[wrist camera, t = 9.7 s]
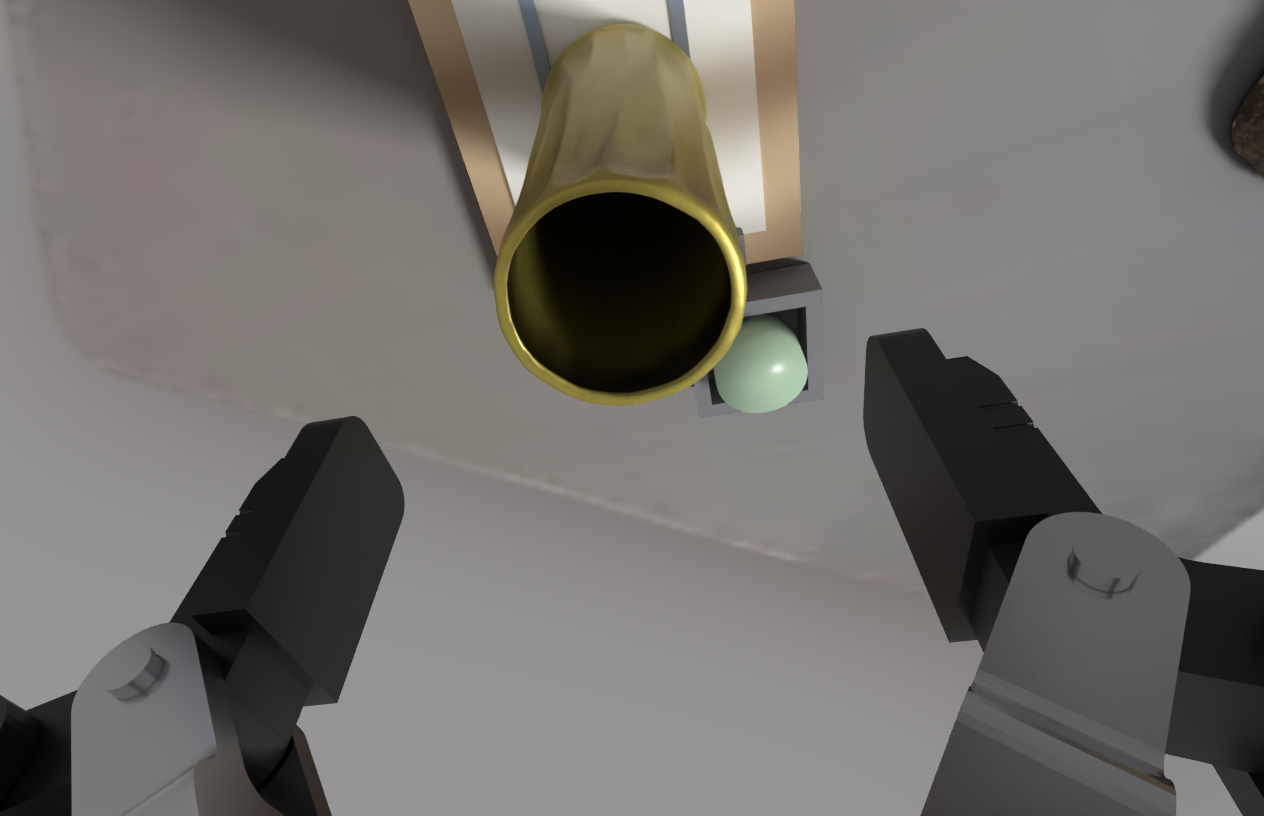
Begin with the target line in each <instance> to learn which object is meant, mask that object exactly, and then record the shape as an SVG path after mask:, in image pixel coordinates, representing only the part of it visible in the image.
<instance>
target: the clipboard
mask: <svg viewBox="0 0 1264 816" xmlns="http://www.w3.org/2000/svg"><path fill="white" fill-rule="evenodd" d="M408 2H409V5H410V7H411V10H412V13H413V16H414V19H415V22H416V25H417V28H418V30H419V33H420V36H421V39H422V42H423V45H424V48H425V51H426V53H427V56H428V59H429V62H430V65H431V68H432V71H433V74H434V76H435V79H436V82H437V85H438V88H439V91H440V94H441V97H442V99H443V102H444V105H445V108H446V111H447V114H448V117H449V120H450V122H451V125H452V128H453V131H454V134H455V137H456V140H457V143H458V146H459V148H460V151H461V154H462V157H463V160H464V163H465V166H466V169H467V171H468V174H469V177H470V180H471V183H472V186H473V189H474V192H475V194H476V197H477V200H478V203H479V206H480V209H481V212H482V215H483V217H484V220H485V223H486V226H487V229H488V232H489V235H490V238H491V240H492V243H493V246H494V249H495V252H496V255H497V258H498V253H499V249H500V246H501V242H502V238H503V235H504V232H505V230H506V228H507V226H508V224H509V222H510V219H511V217H512V214H513V212H514V209H515V206H516V204H517V201H518V199H519V196H520V192H521V189H522V186H523V182H524V179H525V175H526V170H527V166H528V161H529V158H530V154H531V150H532V147H533V143H534V139H535V136H536V132H537V129H538V125H539V120H540V115H541V99H542V95H543V91H544V88H545V84H546V81H547V78H548V76H549V73H550V71H551V69H552V67H553V65H554V64H555V62H556V61H557V59H558V58H559V56H560V55H561V54H562V53H563V51H564V50H565V49H566V48H567V47H568V46H569V45H570V44H572V43H573V42H574V41H575V40H577V39H578V38H579V37H581V36H582V35H584V34H586V33H587V32H589V31H592V30H594V29H596V28H599V27H602V26H607V25H612V24H635V25H640V26H644V27H647V28H651V29H653V30H655V31H657V32H659V33H661V34H663V35H665V36H666V37H667V38H669V39H670V40H672V41H673V42H674V43H675V44H676V45H678V46H679V47H680V48H681V49H682V50H683V51H684V52H685V53H686V55H687V56H688V57H689V58H690V60H691V61H692V63H693V65H694V67H695V68H696V71H697V73H698V75H699V78H700V81H701V84H702V87H703V91H704V96H705V102H706V113H707V118H706V125H707V127H708V129H709V130H710V133H711V136H712V140H713V144H714V148H715V152H716V156H717V160H718V165H719V169H720V173H721V177H722V182H723V186H724V191H725V195H726V198H727V202H728V205H729V209H730V212H731V215H732V218H733V220H734V223H735V226H736V229H737V233H738V236H739V240H740V244H741V248H742V252H743V256H744V261H745V266H747V264H752V263H757V262H763V261H769V260H774V259H780V258H786V257H791V256H797V255H802V231H801V200H800V169H799V138H798V107H797V76H796V45H795V14H794V0H408Z"/></svg>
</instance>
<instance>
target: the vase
mask: <svg viewBox="0 0 1264 816" xmlns="http://www.w3.org/2000/svg"><path fill="white" fill-rule="evenodd" d="M706 118H707V113H706V102H705V96H704V91H703V87H702V84H701V81H700V78H699V75H698V73H697V71H696V68H695V67H694V65H693V63H692V61H691V60H690V58H689V57H688V56H687V55H686V53H685V52H684V51H683V50H682V49H681V48H680V47H679V46H678V45H676V44H675V43H674V42H673V41H672V40H670V39H669V38H667V37H666V36H665V35H663V34H661V33H659V32H657V31H655V30H653V29H651V28H647V27H644V26H640V25H635V24H612V25H607V26H602V27H599V28H596V29H594V30H592V31H589V32H587V33H586V34H584V35H582V36H581V37H579V38H578V39H577V40H575V41H574V42H573V43H572V44H570V45H569V46H568V47H567V48H566V49H565V50H564V51H563V53H562V54H561V55H560V56H559V58H558V59H557V61H556V62H555V64H554V65H553V67H552V69H551V71H550V73H549V76H548V78H547V81H546V84H545V88H544V91H543V95H542V99H541V115H540V120H539V125H538V129H537V132H536V136H535V139H534V143H533V147H532V150H531V154H530V158H529V161H528V166H527V170H526V175H525V179H524V182H523V186H522V189H521V192H520V196H519V199H518V201H517V204H516V206H515V209H514V212H513V214H512V217H511V219H510V222H509V224H508V226H507V228H506V230H505V232H504V235H503V238H502V242H501V246H500V249H499V253H498V258H497V262H496V267H495V272H494V277H493V287H494V294H495V302H496V309H497V315H498V320H499V325H500V327H501V330H502V333H503V335H504V337H505V339H506V340H507V342H508V344H509V346H510V347H511V349H512V351H513V352H514V354H515V355H516V357H517V358H518V359H519V361H520V362H521V363H522V365H523V366H524V367H525V368H526V369H527V370H528V371H529V372H530V373H532V374H533V375H535V376H536V377H537V378H539V379H540V380H542V381H544V382H545V383H547V384H548V385H550V386H552V387H553V388H555V389H557V390H559V391H560V392H562V393H564V394H566V395H568V396H571V397H573V398H575V399H578V400H582V401H585V402H589V403H595V404H601V405H614V406H624V405H636V404H642V403H647V402H650V401H654V400H658V399H661V398H664V397H668V396H671V395H673V394H675V393H677V392H680V391H682V390H684V389H686V388H687V387H689V386H691V385H693V384H695V383H696V382H697V381H698V380H700V379H701V378H702V377H704V376H705V375H706V374H707V373H708V372H709V371H710V370H711V369H712V368H713V367H714V366H715V365H716V364H717V363H718V362H719V361H720V360H721V359H722V358H723V357H724V355H725V354H726V353H727V352H728V351H729V349H730V347H731V346H732V344H733V342H734V340H735V338H736V336H737V334H738V332H739V330H740V329H741V327H742V322H743V316H744V311H745V306H746V297H747V277H746V267H745V261H744V256H743V252H742V248H741V244H740V240H739V236H738V233H737V229H736V226H735V223H734V220H733V218H732V215H731V212H730V209H729V205H728V202H727V198H726V195H725V191H724V186H723V182H722V177H721V173H720V169H719V165H718V160H717V156H716V152H715V148H714V144H713V140H712V136H711V133H710V130H709V129H708V127H707V125H706Z"/></svg>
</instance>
